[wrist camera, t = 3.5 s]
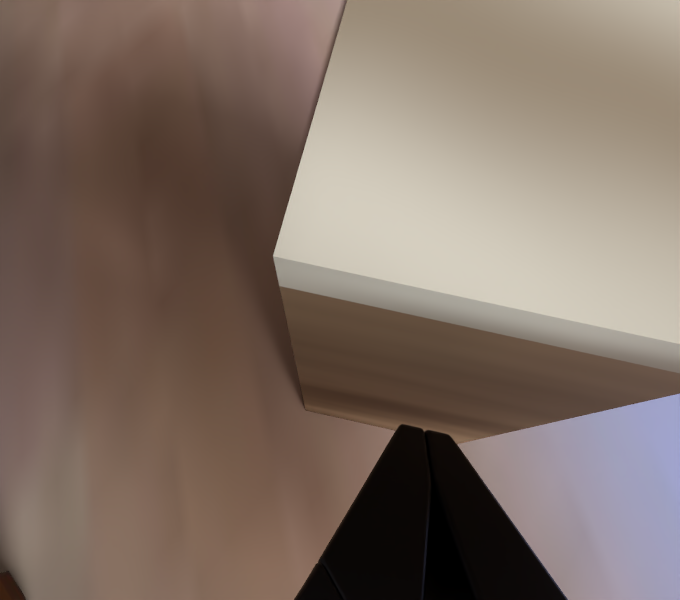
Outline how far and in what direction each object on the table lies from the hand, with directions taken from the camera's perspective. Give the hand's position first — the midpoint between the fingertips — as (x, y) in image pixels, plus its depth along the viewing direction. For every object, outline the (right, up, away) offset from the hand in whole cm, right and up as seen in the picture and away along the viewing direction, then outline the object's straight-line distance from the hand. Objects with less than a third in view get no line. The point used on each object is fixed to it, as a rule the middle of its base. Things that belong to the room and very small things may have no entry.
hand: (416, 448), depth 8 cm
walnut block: (+1, +1, +9) cm, 9 cm away
